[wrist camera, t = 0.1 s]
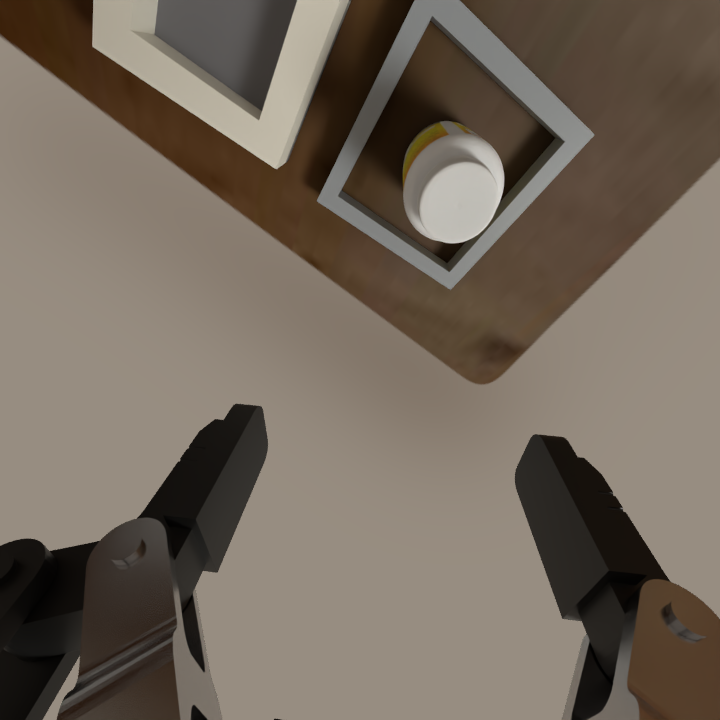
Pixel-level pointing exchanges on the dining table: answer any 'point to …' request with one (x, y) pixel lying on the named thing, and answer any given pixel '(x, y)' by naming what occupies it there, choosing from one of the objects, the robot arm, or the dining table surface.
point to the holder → (227, 60)
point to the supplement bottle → (451, 182)
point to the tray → (491, 55)
